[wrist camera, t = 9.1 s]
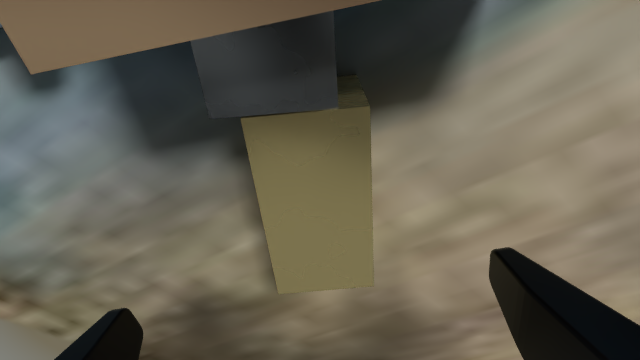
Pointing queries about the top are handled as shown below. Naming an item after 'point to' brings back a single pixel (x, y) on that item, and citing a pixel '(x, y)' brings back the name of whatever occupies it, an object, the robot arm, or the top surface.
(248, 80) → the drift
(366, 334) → the top surface
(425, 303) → the top surface
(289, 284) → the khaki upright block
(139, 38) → the beam
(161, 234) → the top surface
